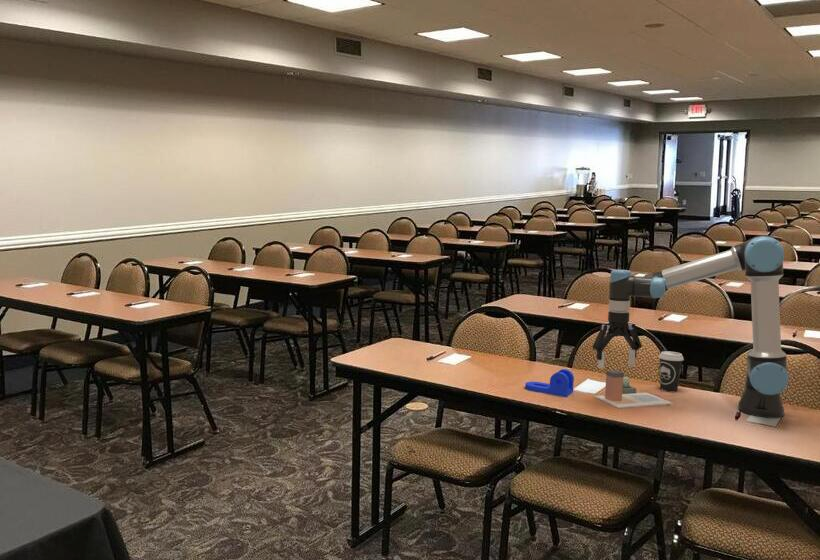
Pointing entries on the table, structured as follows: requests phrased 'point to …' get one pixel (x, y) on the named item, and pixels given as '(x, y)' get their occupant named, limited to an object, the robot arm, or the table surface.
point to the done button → (626, 382)
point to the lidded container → (614, 385)
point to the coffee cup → (670, 370)
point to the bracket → (554, 384)
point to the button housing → (629, 390)
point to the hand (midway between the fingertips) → (616, 367)
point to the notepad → (635, 400)
